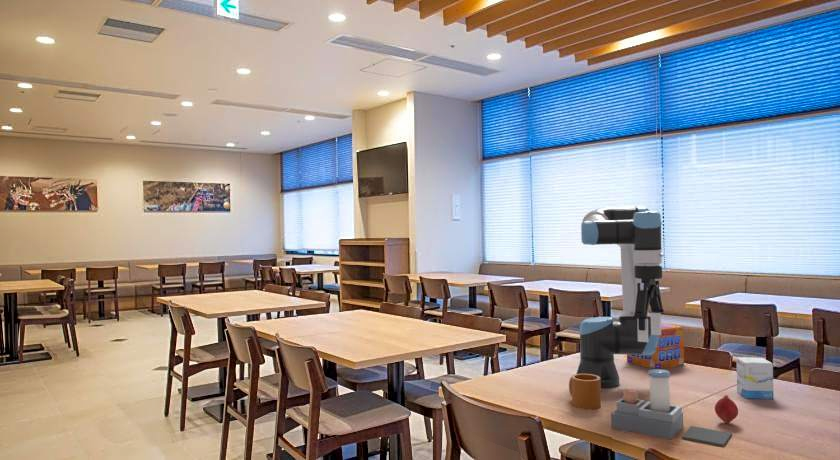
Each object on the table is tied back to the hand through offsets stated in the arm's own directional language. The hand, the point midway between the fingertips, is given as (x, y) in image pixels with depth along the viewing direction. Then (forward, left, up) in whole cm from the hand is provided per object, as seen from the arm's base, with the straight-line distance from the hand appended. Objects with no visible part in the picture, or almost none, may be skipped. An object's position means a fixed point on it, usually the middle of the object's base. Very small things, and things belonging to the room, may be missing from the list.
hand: (649, 338), depth 168 cm
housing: (+1, -7, -24) cm, 25 cm away
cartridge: (+4, -7, -20) cm, 21 cm away
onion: (+18, +9, -24) cm, 31 cm away
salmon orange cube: (-4, -7, -18) cm, 20 cm away
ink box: (+20, +44, -24) cm, 54 cm away
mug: (-22, +4, -24) cm, 33 cm away
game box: (-20, +73, -24) cm, 80 cm away
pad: (+16, -6, -24) cm, 29 cm away
